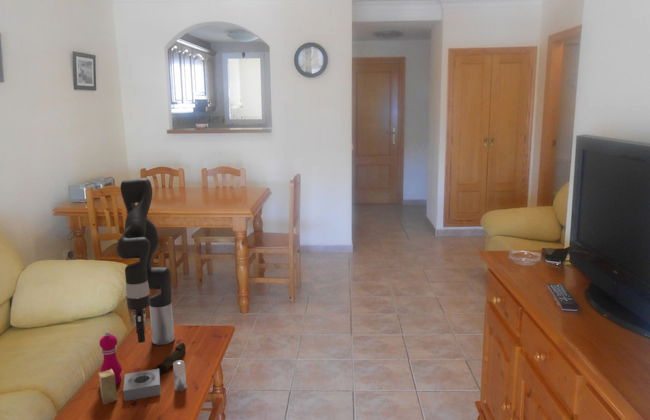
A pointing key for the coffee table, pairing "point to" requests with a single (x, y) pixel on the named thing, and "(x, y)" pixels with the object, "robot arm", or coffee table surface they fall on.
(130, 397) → the bore block
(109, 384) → the pale wooden block
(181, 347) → the hand tool
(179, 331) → the coffee table surface
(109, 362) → the pepper mill
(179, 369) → the round bit
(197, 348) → the coffee table surface
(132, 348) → the coffee table surface
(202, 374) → the coffee table surface
